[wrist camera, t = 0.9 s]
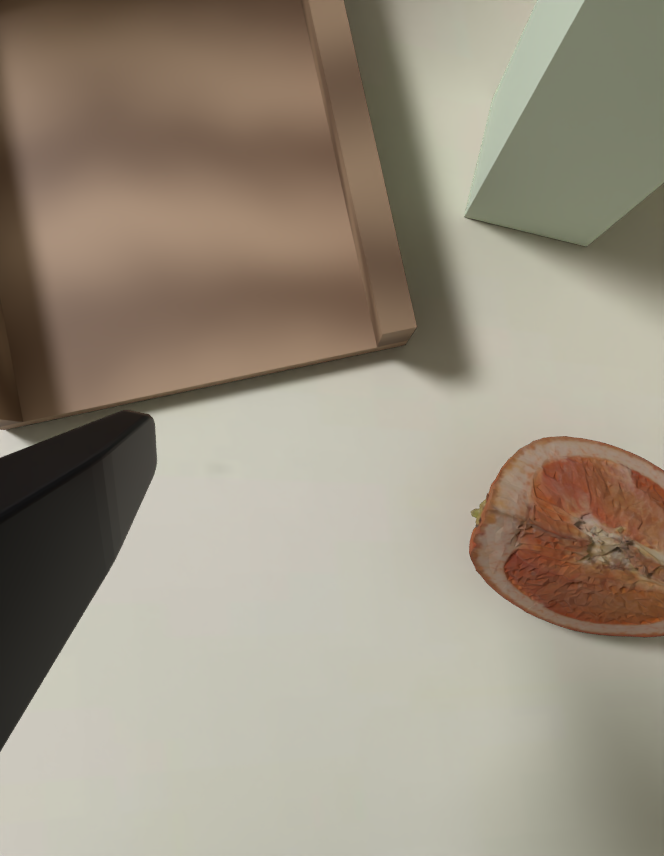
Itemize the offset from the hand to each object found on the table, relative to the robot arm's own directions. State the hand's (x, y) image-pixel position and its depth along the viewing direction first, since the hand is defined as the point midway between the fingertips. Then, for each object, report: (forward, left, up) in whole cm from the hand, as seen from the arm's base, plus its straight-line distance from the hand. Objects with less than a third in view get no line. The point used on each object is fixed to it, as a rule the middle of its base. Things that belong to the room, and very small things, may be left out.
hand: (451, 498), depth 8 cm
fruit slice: (-3, -7, -14) cm, 16 cm away
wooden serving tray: (+13, +7, -14) cm, 20 cm away
